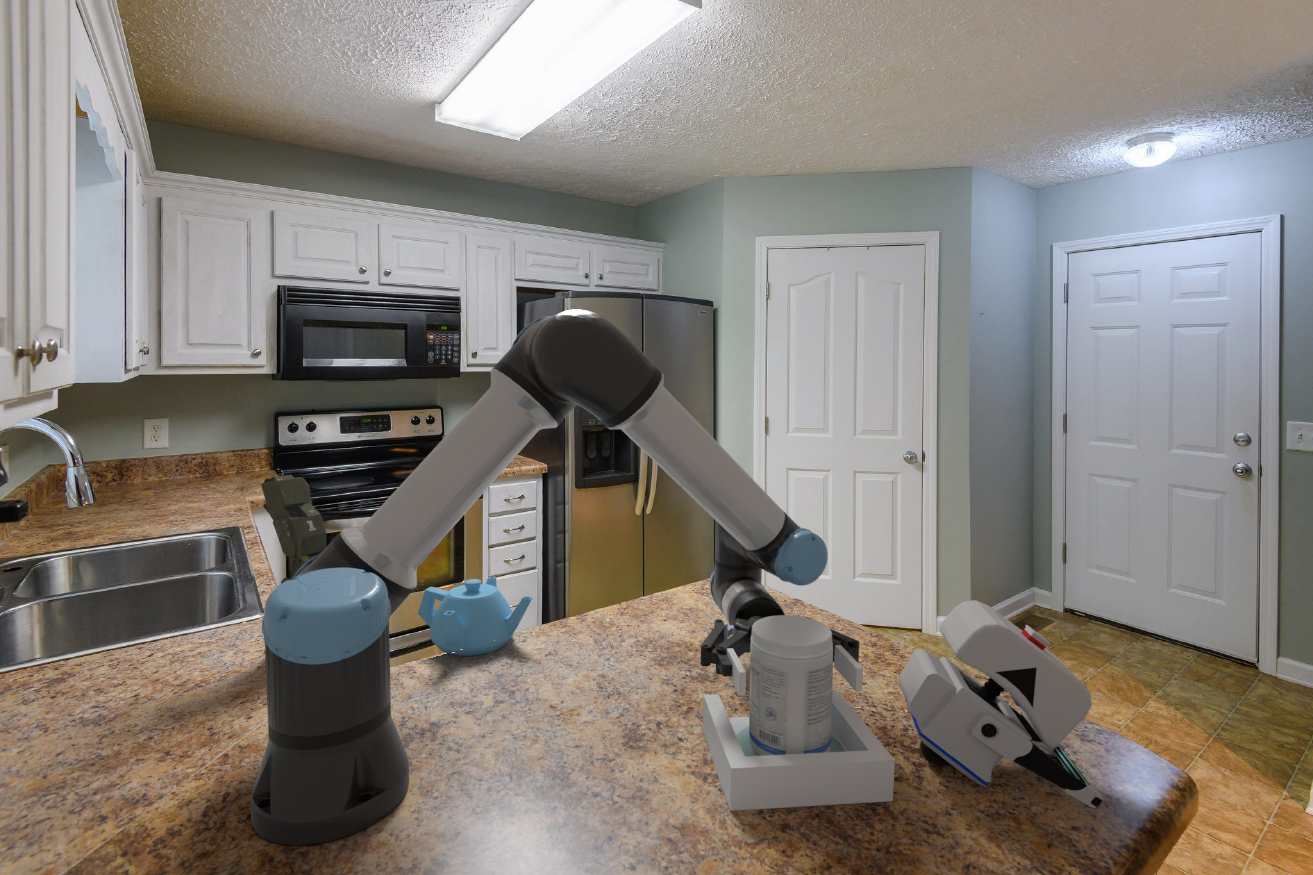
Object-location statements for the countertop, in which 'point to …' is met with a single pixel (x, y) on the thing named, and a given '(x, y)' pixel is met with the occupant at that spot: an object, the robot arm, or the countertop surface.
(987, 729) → the robotic device
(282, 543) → the mechanical leg
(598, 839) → the countertop surface
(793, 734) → the supplement tub
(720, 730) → the housing
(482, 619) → the teapot
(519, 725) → the countertop surface
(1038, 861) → the countertop surface
